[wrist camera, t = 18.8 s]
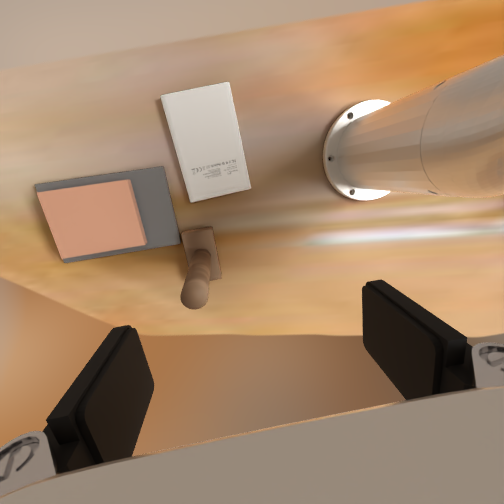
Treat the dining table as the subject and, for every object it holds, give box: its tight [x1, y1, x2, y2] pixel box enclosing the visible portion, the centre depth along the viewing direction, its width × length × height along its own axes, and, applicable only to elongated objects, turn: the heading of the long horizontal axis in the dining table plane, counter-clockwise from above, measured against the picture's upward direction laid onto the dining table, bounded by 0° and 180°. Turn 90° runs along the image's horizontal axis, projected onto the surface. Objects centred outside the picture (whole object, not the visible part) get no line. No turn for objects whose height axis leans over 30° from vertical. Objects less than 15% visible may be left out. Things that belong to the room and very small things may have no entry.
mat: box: [35, 166, 181, 263], centre depth 33 cm, size 15×10×1 cm, turn 98°
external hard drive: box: [160, 82, 251, 202], centre depth 32 cm, size 2×8×12 cm
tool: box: [181, 227, 222, 309], centre depth 29 cm, size 4×7×14 cm, turn 9°
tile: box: [37, 179, 147, 259], centre depth 31 cm, size 1×8×10 cm
